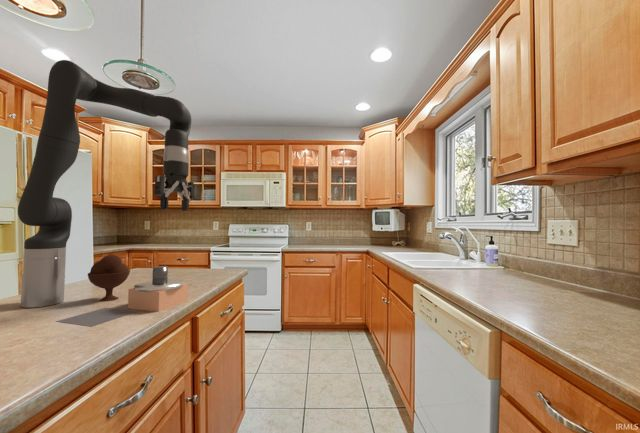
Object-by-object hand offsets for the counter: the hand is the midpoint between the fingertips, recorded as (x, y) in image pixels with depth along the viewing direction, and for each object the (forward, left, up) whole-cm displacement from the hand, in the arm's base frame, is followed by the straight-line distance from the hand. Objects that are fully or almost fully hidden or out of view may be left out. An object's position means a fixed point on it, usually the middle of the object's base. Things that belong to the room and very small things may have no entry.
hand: (175, 210), depth 90 cm
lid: (+1, -7, -24) cm, 25 cm away
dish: (+1, -7, -30) cm, 30 cm away
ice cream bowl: (-19, -7, -30) cm, 36 cm away
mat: (-5, -20, -30) cm, 36 cm away
